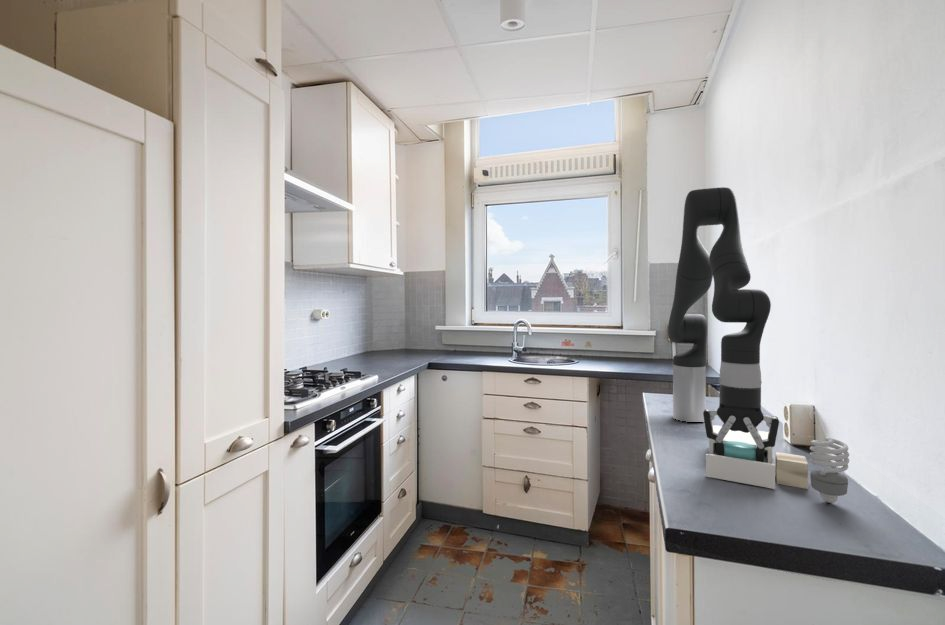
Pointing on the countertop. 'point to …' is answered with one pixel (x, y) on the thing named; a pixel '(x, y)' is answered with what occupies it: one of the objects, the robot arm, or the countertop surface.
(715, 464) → the tray
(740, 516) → the countertop surface
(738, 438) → the box
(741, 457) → the teal shallow dome
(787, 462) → the beige cube block
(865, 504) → the countertop surface
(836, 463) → the light bulb
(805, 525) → the countertop surface
